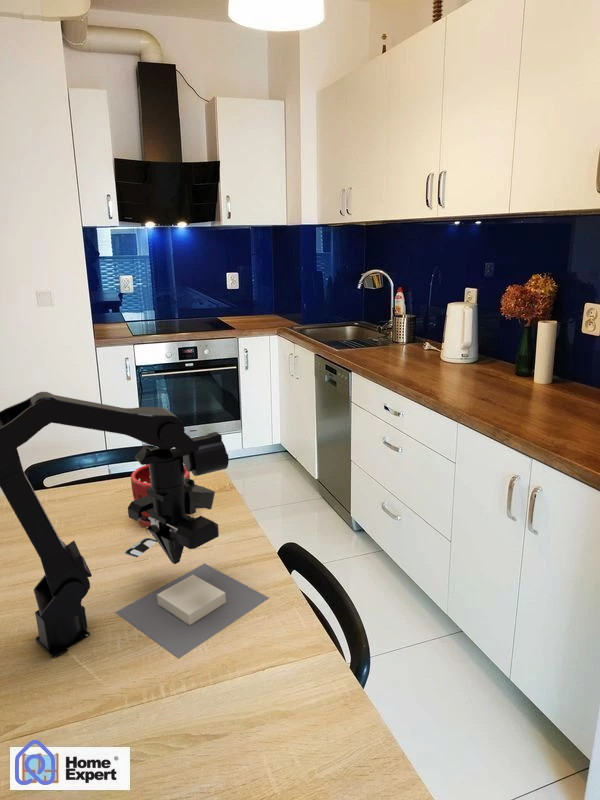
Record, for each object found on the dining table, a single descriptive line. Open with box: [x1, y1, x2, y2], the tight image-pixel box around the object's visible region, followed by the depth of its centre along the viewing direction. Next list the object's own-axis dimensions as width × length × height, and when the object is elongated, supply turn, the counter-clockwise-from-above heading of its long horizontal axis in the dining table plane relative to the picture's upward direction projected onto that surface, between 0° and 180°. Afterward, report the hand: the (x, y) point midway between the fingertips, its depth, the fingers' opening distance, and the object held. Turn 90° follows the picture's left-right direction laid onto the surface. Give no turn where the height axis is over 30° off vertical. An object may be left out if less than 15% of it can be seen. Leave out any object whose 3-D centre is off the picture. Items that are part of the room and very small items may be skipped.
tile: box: [157, 575, 226, 625], centre depth 102 cm, size 8×2×9 cm
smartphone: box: [124, 537, 158, 559], centre depth 119 cm, size 7×1×15 cm
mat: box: [114, 563, 270, 660], centre depth 102 cm, size 20×18×1 cm
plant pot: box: [130, 464, 191, 528], centre depth 133 cm, size 13×13×12 cm
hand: (175, 562), depth 103 cm, fingers closed
